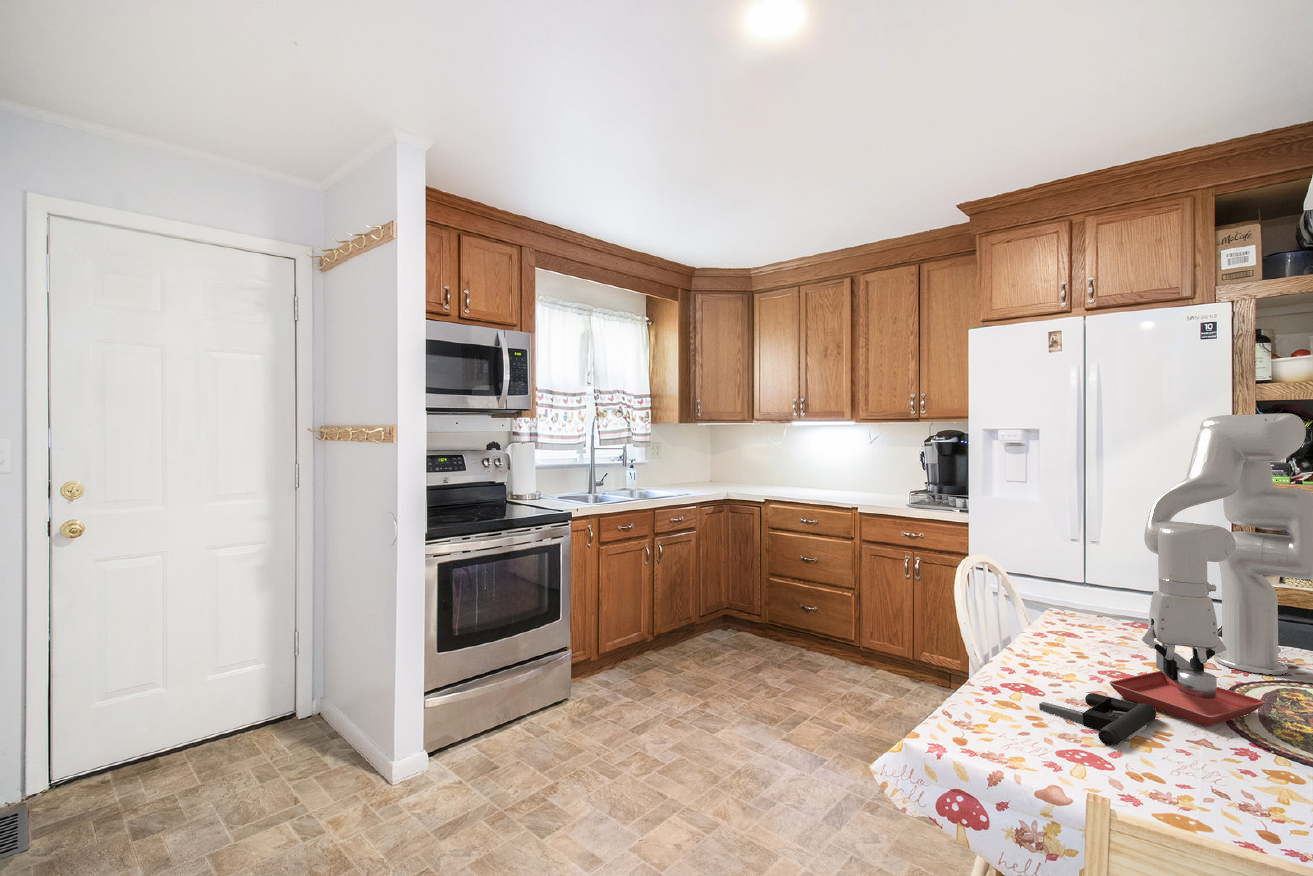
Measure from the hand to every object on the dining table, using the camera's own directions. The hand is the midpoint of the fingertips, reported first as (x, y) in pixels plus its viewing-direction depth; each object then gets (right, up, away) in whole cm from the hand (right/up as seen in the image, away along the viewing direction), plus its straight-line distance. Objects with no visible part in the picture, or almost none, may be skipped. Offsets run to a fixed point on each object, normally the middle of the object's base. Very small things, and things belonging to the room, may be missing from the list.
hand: (1183, 678), depth 122 cm
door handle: (-22, -6, -6) cm, 24 cm away
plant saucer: (0, -6, 0) cm, 6 cm away
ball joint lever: (0, -1, 0) cm, 1 cm away
